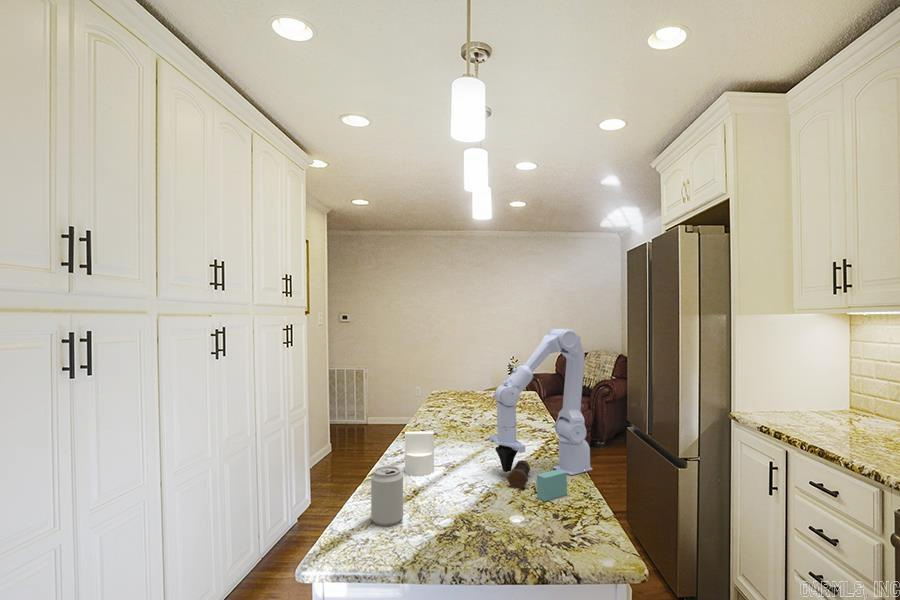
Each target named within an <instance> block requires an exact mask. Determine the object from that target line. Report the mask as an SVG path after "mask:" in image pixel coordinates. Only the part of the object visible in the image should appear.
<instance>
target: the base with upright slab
mask: <svg viewBox="0 0 900 600" xmlns="http://www.w3.org/2000/svg"><path fill="white" fill-rule="evenodd" d="M434 435H435V434H434V431H433V430H426V431H425V430H420V431H419V430H418V431H405V432H404V473H405V474H406V475H407V474H408V475H407V476H410V475H412V476H411V477H418V476H419V477H425V476H424V475H427V476H430V475H432V474H433V473H434V472H435V444H434V443H435V438H434ZM431 473H432V474H431ZM429 474H430V475H429Z"/></svg>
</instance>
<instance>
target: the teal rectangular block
mask: <svg viewBox="0 0 900 600" xmlns="http://www.w3.org/2000/svg"><path fill="white" fill-rule="evenodd" d="M535 483H536V498H537V499H538V500H541V501H543V502H547V501H551V500H555V499H557V498H561V497H565V496H567V495H568V474H567V472H565V471H562V470H559V469H557V470H556V469H554V470H550V471H547V472H542V473H539V474H536V479H535Z"/></svg>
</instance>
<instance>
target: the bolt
mask: <svg viewBox="0 0 900 600" xmlns="http://www.w3.org/2000/svg"><path fill="white" fill-rule="evenodd" d="M530 471H531V467H530V464H529V462H528V461H526V460H524V459H523V460H518V461H517V462H516V464H515V466H514V467H513V468H511V471H510V473H509V474H508V476H507V477H506V479H507V482H508V484H509V485H510V486H511V488H512V487H513V489H517V488H518V489H519V490H522V489H524V488H525V486H526V484H527V482H528V481H529V478H528V475H529V474H530Z"/></svg>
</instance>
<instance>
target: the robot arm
mask: <svg viewBox="0 0 900 600" xmlns="http://www.w3.org/2000/svg"><path fill="white" fill-rule="evenodd" d="M558 352H560V353H561V355H563V357H565V359H566V364H565V376H564V387H563V399H562V408H561V410H559V412H558V415H557V418H556V421H555V423H554V430H555V433H556V434H557V436H558V465H555V466H552V468H553V469H554V470H557V469H559V470H562V471H565V472H567V475H570V476H573V475H578V474H581V473H584V472H588V471H592V470H593V468H592V467H591V448H590V445H589V443H588V442H587V440H586V437H587V434H588V433H587V428H586V425H585V422H586V421H585V418H584V415H583V414H582V411H581V409H582V408H581V407H582V395H583V382H584V369H585V358H586V357H585V354H586V353H585V350H584V348H583V346H582V343H581V336H580V335H579V334H578V333H577V332H576V331H575V330H573V329H571V328H558V327H554V328H551V329H550V330H549V331H548V333H547V334H545V335H544V336H543V338H542V339H541V341H540V343H539V344H538V346H537V347H536V348H535V350H534V351H533V353H532V354H531V355H530V357H529V358H527V361H526V362H524V364H523V365H517V367H513V369H512V373H511V374H510V375H509V377H508V378H506V380H503V382H502V385H498V387H496V389H495V393H493V397H494V400H495V401H496V434H491V435H489V442H490V443H494V444H495V445H497V446H496V447H495V448H494V450H495V452H496V454H497V456H498V458H499V461H500V465H501V468H502V471H503V472H504V473H509V472H510V473H511V471H512V469H513V468H512V467H513V463H514V460H515V458H516V456H517V454H518V453H519V454H522V453H526V445H525V444H523V443H521V442H520V441H518V440H517V409H516V408H517V403H518V402H519V401H520V395H521V393H522V392H523V391H524V390H525V388H526V387H527V386H528V385H529V384H530V382H531V381H532V380H533V379H534V372H535V370H537V368H538V367H540V365H541V364H542V363H543V362H544V361H545V360H546V359H547V357H548V356H549V355H550V354H555V353H558ZM584 469H585V471H584Z"/></svg>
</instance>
